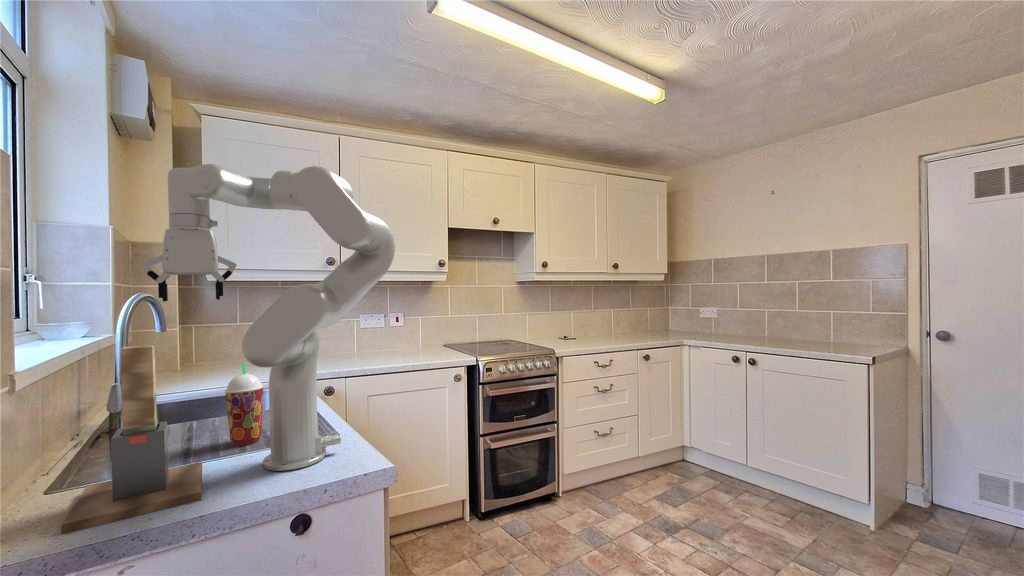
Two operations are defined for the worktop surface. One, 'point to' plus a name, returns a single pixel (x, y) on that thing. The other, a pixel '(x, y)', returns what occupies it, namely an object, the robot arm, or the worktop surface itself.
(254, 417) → the smoothie
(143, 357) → the post
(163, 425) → the sleeve
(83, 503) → the base board
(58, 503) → the worktop surface
